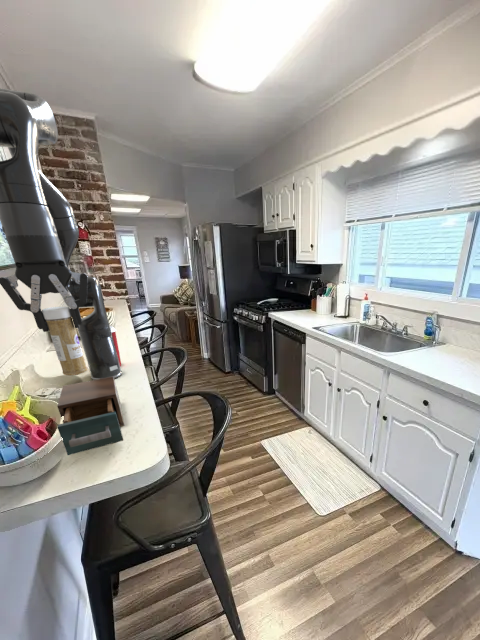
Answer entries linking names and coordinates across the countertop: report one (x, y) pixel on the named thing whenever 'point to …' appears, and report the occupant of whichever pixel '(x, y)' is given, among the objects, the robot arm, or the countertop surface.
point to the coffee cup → (115, 342)
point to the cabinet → (90, 395)
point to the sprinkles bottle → (65, 340)
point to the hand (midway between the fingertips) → (62, 328)
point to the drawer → (90, 426)
